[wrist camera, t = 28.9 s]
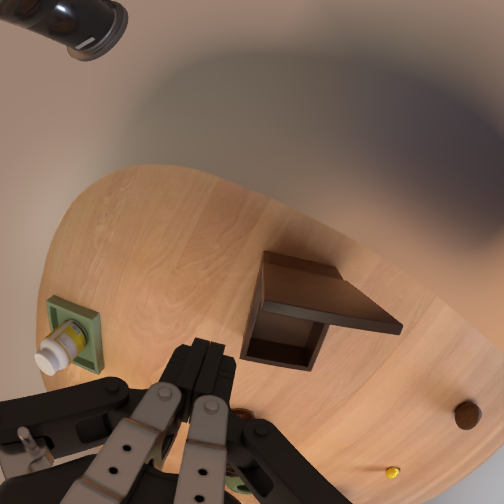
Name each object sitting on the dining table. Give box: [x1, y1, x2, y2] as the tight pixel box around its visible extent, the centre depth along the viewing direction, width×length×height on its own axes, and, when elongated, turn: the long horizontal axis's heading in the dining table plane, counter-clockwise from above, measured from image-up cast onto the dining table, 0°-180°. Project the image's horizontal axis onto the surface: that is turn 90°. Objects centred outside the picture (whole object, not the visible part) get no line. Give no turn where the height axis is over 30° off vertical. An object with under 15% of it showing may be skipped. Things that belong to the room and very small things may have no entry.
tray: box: [46, 296, 104, 375], centre depth 46 cm, size 14×12×3 cm
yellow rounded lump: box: [385, 468, 401, 478], centre depth 54 cm, size 3×6×4 cm, turn 66°
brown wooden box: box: [240, 251, 343, 372], centre depth 39 cm, size 15×11×6 cm
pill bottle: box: [35, 320, 88, 376], centre depth 41 cm, size 6×6×12 cm
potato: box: [455, 403, 482, 430], centre depth 45 cm, size 7×10×7 cm
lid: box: [261, 263, 403, 335], centre depth 26 cm, size 16×11×1 cm
